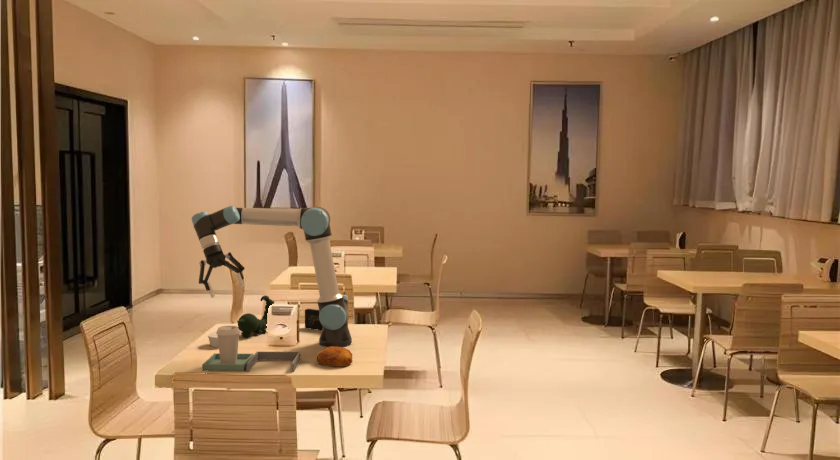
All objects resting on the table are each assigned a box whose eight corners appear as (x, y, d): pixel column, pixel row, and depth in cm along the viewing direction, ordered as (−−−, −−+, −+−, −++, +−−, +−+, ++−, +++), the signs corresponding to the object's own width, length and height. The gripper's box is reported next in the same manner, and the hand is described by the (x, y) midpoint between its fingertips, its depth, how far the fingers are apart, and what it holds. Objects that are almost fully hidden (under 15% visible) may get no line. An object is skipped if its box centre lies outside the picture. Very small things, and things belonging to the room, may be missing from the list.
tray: (253, 359, 289) (253, 353, 288) (244, 370, 272) (244, 364, 272) (214, 359, 288) (214, 353, 288) (202, 370, 272) (202, 364, 271)
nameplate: (304, 328, 347) (304, 309, 347) (307, 327, 349) (307, 308, 348) (338, 333, 337) (338, 313, 336) (340, 332, 339) (340, 312, 338)
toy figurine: (262, 331, 346) (228, 338, 323) (264, 293, 346) (230, 297, 322) (278, 334, 341) (244, 340, 318) (279, 295, 341) (246, 299, 318)
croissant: (339, 375, 275) (341, 356, 274) (309, 363, 283) (311, 345, 282) (360, 365, 288) (362, 347, 286) (331, 355, 295) (333, 337, 294)
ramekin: (209, 349, 304) (209, 338, 304) (206, 343, 315) (206, 332, 314) (235, 347, 309) (235, 335, 308) (231, 341, 319) (231, 330, 319)
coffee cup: (234, 367, 275) (233, 330, 273) (212, 365, 276) (211, 329, 275) (244, 361, 284) (244, 325, 283) (223, 359, 286) (223, 324, 285)
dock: (300, 359, 289) (300, 351, 289) (293, 372, 271) (293, 363, 271) (256, 359, 289) (256, 351, 288) (246, 371, 271) (246, 363, 270)
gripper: (235, 241, 304) (252, 285, 302) (181, 257, 290) (198, 303, 287) (240, 236, 298) (257, 281, 296) (184, 251, 284) (202, 299, 281)
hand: (228, 292), depth 291 cm, fingers open, 13 cm apart
